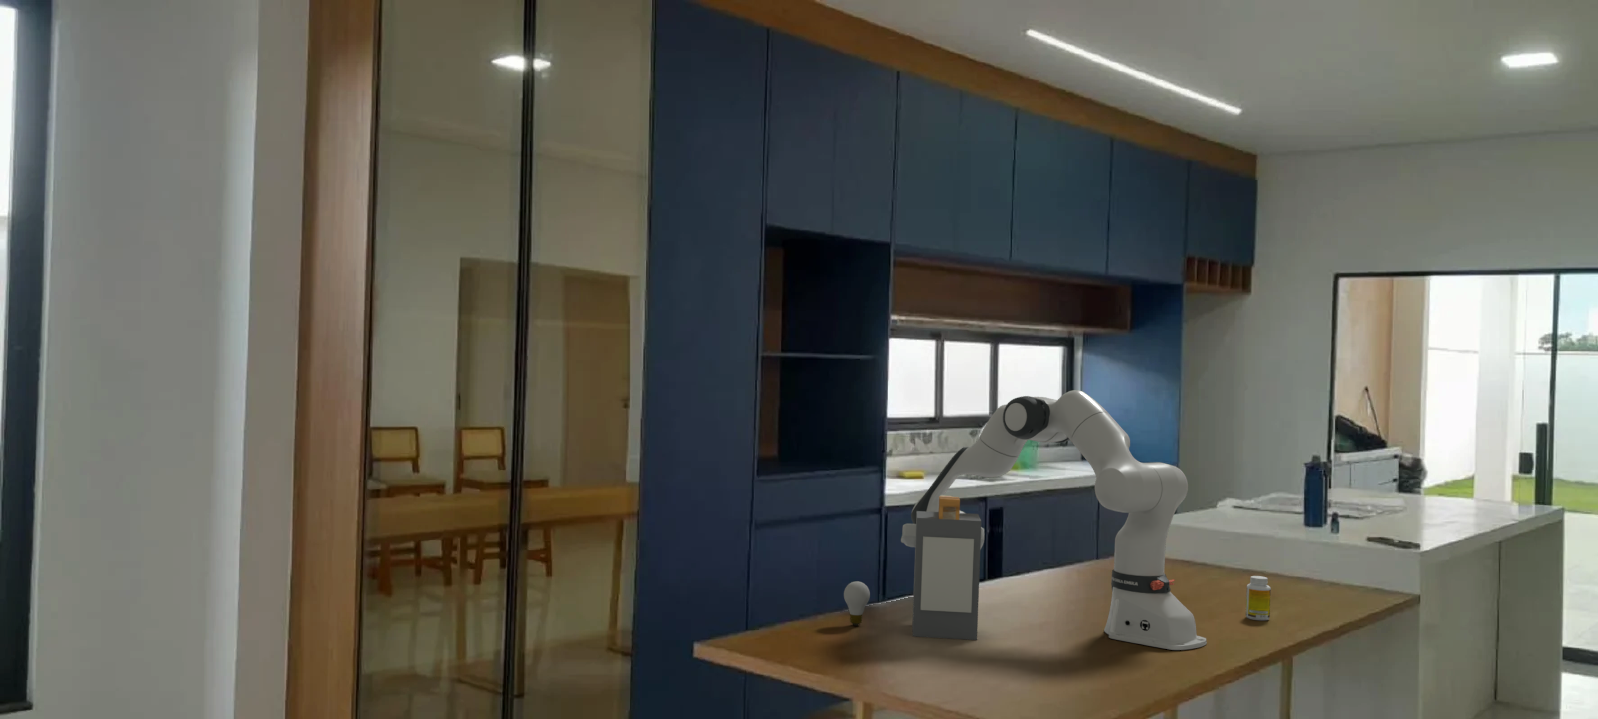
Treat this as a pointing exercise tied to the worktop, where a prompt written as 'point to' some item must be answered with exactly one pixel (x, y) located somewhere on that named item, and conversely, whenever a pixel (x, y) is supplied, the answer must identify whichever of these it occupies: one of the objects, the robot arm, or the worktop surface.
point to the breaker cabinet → (946, 576)
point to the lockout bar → (949, 507)
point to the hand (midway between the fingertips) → (944, 524)
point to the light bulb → (856, 600)
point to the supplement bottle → (1258, 599)
